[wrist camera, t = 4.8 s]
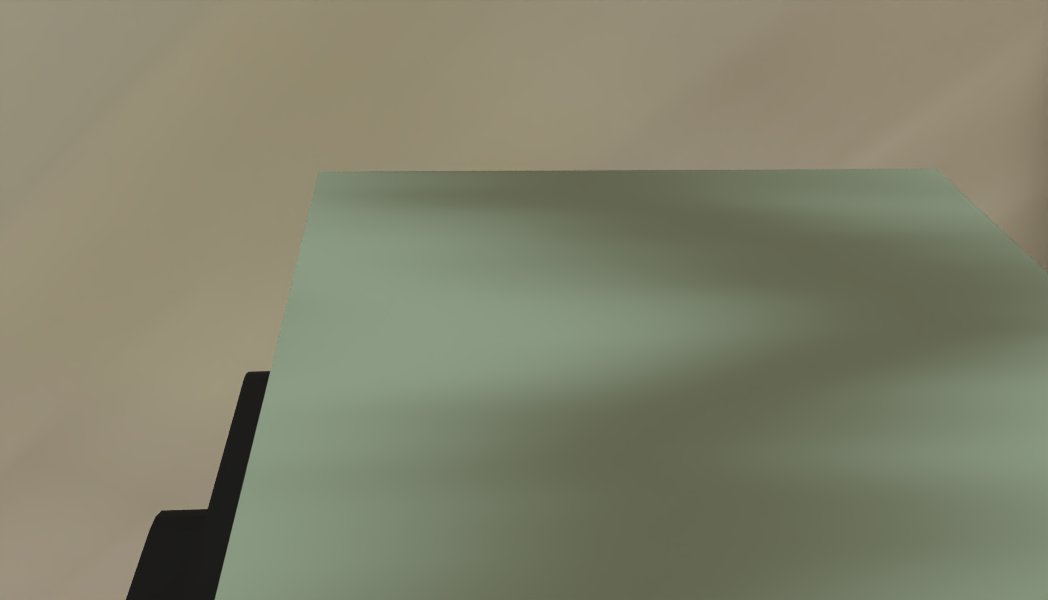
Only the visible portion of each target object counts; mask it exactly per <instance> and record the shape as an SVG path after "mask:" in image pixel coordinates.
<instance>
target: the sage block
mask: <svg viewBox="0 0 1048 600" xmlns="http://www.w3.org/2000/svg"><path fill="white" fill-rule="evenodd" d="M215 600H1048V272H1047V271H1046V270H1045V269H1044V268H1043V267H1042V266H1040V265H1039V264H1038V263H1037V262H1036V261H1035V260H1034V259H1033V258H1032V257H1031V256H1030V255H1029V254H1028V253H1027V252H1026V251H1024V250H1023V249H1022V248H1021V247H1020V246H1019V245H1018V244H1017V243H1016V242H1015V241H1014V240H1013V239H1012V238H1011V237H1009V236H1008V235H1007V234H1006V233H1005V232H1004V231H1003V230H1002V229H1001V228H1000V227H999V226H998V225H997V224H996V223H994V222H993V221H992V220H991V219H990V218H989V217H988V216H987V215H986V214H985V213H984V212H983V211H982V210H981V209H979V208H978V207H977V206H976V205H975V204H974V203H973V202H972V201H971V200H970V199H969V198H968V197H967V196H966V195H964V194H963V193H962V192H961V191H960V190H959V189H958V188H957V187H956V186H955V185H954V184H953V183H952V182H951V181H949V180H948V179H947V178H946V177H945V176H944V175H943V174H942V173H941V172H940V171H939V170H938V169H844V170H608V171H371V172H319V174H318V178H317V182H316V186H315V190H314V194H313V198H312V203H311V207H310V211H309V215H308V219H307V223H306V227H305V231H304V235H303V239H302V244H301V248H300V252H299V256H298V260H297V264H296V268H295V272H294V276H293V281H292V285H291V289H290V293H289V297H288V301H287V305H286V309H285V313H284V317H283V322H282V326H281V330H280V334H279V338H278V342H277V346H276V350H275V354H274V359H273V363H272V367H271V371H270V375H269V379H268V383H267V387H266V391H265V396H264V400H263V404H262V408H261V412H260V416H259V420H258V424H257V428H256V432H255V437H254V441H253V445H252V449H251V453H250V457H249V461H248V465H247V469H246V474H245V478H244V482H243V486H242V490H241V494H240V498H239V502H238V506H237V510H236V515H235V519H234V523H233V527H232V531H231V535H230V539H229V543H228V547H227V552H226V556H225V560H224V564H223V568H222V572H221V576H220V580H219V584H218V589H217V593H216V597H215Z"/></svg>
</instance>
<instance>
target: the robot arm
mask: <svg viewBox="0 0 1048 600" xmlns="http://www.w3.org/2000/svg"><path fill="white" fill-rule="evenodd" d="M269 375H270V371H260V372H248V373H246V375H245V378H244V381H243V384H242V388H241V392H240V395H239V399H238V402H237V406H236V410H235V413H234V417H233V420H232V424H231V427H230V431H229V435H228V438H227V442H226V445H225V449H224V453H223V456H222V460H221V463H220V467H219V471H218V474H217V478H216V481H215V485H214V489H213V492H212V496H211V499H210V503H209V507H208V509H200V510H168V511H161V512H160V513H159V514H158V515H157V516H156V517H155V519H154V522H153V524H152V526H151V528H150V531H149V534H148V536H147V539H146V542H145V545H144V548H143V551H142V554H141V557H140V560H139V563H138V566H137V569H136V572H135V575H134V578H133V580H132V583H131V586H130V589H129V592H128V595H127V598H126V600H215V597H216V593H217V589H218V584H219V580H220V576H221V572H222V568H223V564H224V560H225V556H226V552H227V547H228V543H229V539H230V535H231V531H232V527H233V523H234V519H235V515H236V510H237V506H238V502H239V498H240V494H241V490H242V486H243V482H244V478H245V474H246V469H247V465H248V461H249V457H250V453H251V449H252V445H253V441H254V437H255V432H256V428H257V424H258V420H259V416H260V412H261V408H262V404H263V400H264V396H265V391H266V387H267V383H268V379H269Z"/></svg>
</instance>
